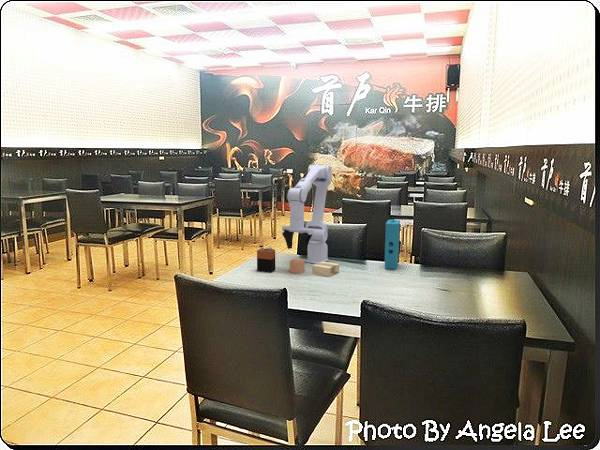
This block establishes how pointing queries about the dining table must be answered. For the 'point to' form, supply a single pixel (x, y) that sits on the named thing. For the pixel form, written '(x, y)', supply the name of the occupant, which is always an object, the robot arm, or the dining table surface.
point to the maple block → (325, 269)
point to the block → (392, 244)
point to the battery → (266, 260)
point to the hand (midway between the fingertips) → (297, 249)
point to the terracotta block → (297, 266)
